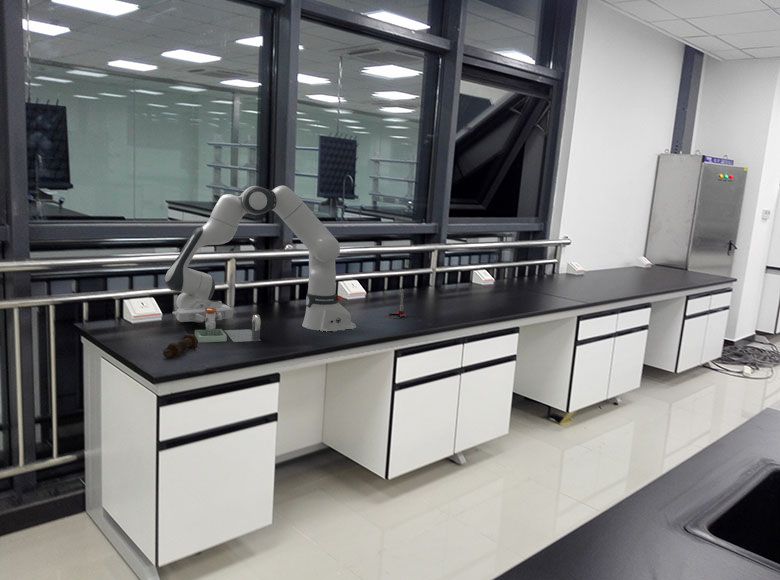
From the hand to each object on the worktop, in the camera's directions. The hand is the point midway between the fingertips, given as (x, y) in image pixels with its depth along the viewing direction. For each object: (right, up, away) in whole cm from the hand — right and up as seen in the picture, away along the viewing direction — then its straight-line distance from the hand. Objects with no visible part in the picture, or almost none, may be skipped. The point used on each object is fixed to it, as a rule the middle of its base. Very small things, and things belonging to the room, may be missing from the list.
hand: (212, 318), depth 224 cm
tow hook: (+66, -2, +66) cm, 94 cm away
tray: (-1, -8, +2) cm, 9 cm away
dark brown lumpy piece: (-7, -11, -15) cm, 20 cm away
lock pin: (-1, -7, +2) cm, 8 cm away
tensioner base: (+9, -8, +9) cm, 15 cm away
